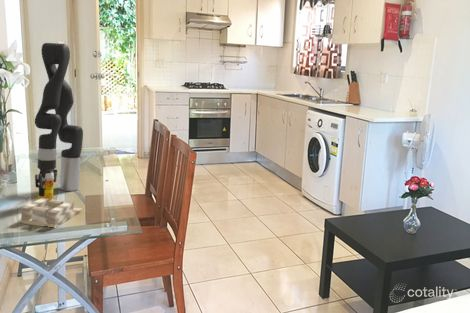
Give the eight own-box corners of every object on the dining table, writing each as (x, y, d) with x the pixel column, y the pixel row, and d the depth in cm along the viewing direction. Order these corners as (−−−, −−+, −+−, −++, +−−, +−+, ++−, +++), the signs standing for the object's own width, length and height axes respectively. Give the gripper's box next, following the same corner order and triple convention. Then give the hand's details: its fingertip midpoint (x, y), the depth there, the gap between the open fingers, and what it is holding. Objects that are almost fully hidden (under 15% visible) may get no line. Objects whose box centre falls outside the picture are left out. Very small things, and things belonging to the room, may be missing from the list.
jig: (52, 207, 181) (52, 193, 180) (82, 211, 180) (82, 197, 178) (21, 223, 159) (21, 207, 158) (54, 228, 158) (55, 212, 157)
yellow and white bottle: (47, 206, 181) (48, 174, 178) (35, 204, 182) (36, 172, 179) (55, 203, 187) (56, 171, 184) (43, 201, 188) (45, 169, 185)
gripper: (48, 154, 188) (46, 189, 191) (29, 159, 174) (28, 197, 177) (63, 156, 187) (62, 191, 190) (45, 161, 173) (44, 199, 176)
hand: (45, 194), depth 183 cm, fingers closed on yellow and white bottle, 6 cm apart
